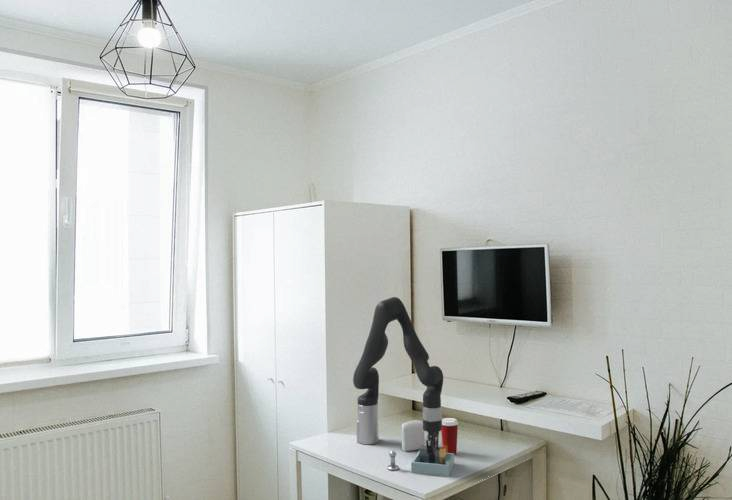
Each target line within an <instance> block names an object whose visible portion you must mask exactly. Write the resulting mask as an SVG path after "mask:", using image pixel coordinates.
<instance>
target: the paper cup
mask: <svg viewBox="0 0 732 500" xmlns="http://www.w3.org/2000/svg"><path fill="white" fill-rule="evenodd" d="M458 424H459V421H458V419H456V418H454V417H445V418H442V430H441V431H440V432H441V433H440V434H441V445H442V447H444V448H445V450H446V453H454V456H455V455H457V451H458V448H457V447H458V446H457V445H458V428H459V427H458V426H459V425H458Z"/></svg>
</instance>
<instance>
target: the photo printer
mask: <svg viewBox="0 0 732 500" xmlns="http://www.w3.org/2000/svg"><path fill="white" fill-rule="evenodd" d="M400 426H401V450H402V451H403V452H410V451H419V448H420V447H421V445H424V446H426V440H425V431H424V430H423V420H422V421H421V420H417V419H415V420H407V421H405V422H403V423H402V424H401V425H400Z"/></svg>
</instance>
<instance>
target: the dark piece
mask: <svg viewBox="0 0 732 500" xmlns="http://www.w3.org/2000/svg"><path fill="white" fill-rule="evenodd" d="M430 451H432V450H431V449H430ZM418 452H419V457H420V462H421V463H429V454H427V446H426V445H425V446H424V445H421V447H420V448H419V449H418ZM434 464H443V465H446V450H445V448H444V447H443V446H438V447H436V448H435V463H434Z"/></svg>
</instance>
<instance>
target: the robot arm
mask: <svg viewBox="0 0 732 500" xmlns="http://www.w3.org/2000/svg"><path fill="white" fill-rule="evenodd" d="M394 321H397V322H398V323H399V325H400V327H401V329H402V330H401V331H402V338H403V346H404V350H405V352H406V353H407V356H408V357H409V358H410V360H411V362H412V363H413V366H414V370H415V373H416V376H417V378H418V380H419V381H420V383H421V384H422V385H423V386H424V387H426V390H425V391H424V392H423V394H422V422H423V430H424V432H427V434H426V440H425V446H427V454H429V463H432V464H434V463H435V448H436V447H439V441H440V440H439V435H440V432H441V430H442V419H443V417H442V416H443V415H442V400H441V398H442V397H441V396H442V395H441V394H442V390H443V384H444V373H443V370H442V369H441V367H439V366H437V365H432V366H430V363H429V362H428V361H429V359H430V356H429V353H428V352H427V350H426V348H425V346H424V344H423V343H422V341H421V340H420V338H419V336H418V335H417V333H416V330H415V327H414V325H413V322H412V321H411V318H410V316H409V314H408V311H407V308H406V307H405V305H404V303H403V302H402V300H401V299H400V298H398V297H396V296H392V297H389V298H387V299H383V300H381V301H379V302H378V303H377V304H376V306H375V308H374V313H373V318H372V323H371V326H370V330H369V334H368V336H367V339H366V341H365V345H364V348H363V352H362V355H361V357H360V359H359V362H358V364H357V366H356V367H355V370H354V373H353V377H352V382H353V385H354V388H356V389H357V390H365V392H364V393H362V394H361V395H359V396H357V420H356V422H355V423H356V443H358V444H363V445H375V444H377V443H379V438H380V437H379V394H380V393H379V391H380V390H379V387H380V386H379V385H380V377H379V375H380V374H379V372H378V369H377V368H376V367H374V366H375V365H376V364H377V363H379V362H380V360H381V359H382V358H384V357H385V354H386V352H387V348H388V344H389V340H388V339H389V338H388V336H387V334H386V329H387V327H388V325H389V324H390V323H391V322H394ZM430 449H431V450H432V451H430Z"/></svg>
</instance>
